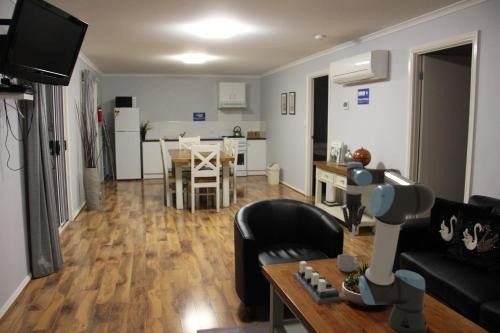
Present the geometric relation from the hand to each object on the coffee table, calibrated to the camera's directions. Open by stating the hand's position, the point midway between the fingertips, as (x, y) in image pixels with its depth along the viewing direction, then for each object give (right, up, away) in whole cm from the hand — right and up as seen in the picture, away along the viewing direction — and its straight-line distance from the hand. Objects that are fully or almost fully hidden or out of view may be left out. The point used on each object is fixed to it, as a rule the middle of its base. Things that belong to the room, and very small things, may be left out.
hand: (352, 238), depth 204 cm
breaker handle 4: (-17, -24, -10) cm, 31 cm away
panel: (-17, -26, +3) cm, 32 cm away
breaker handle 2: (-21, -22, +6) cm, 31 cm away
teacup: (+4, -23, +24) cm, 34 cm away
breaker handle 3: (-19, -23, -2) cm, 30 cm away
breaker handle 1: (-23, -20, +13) cm, 34 cm away
